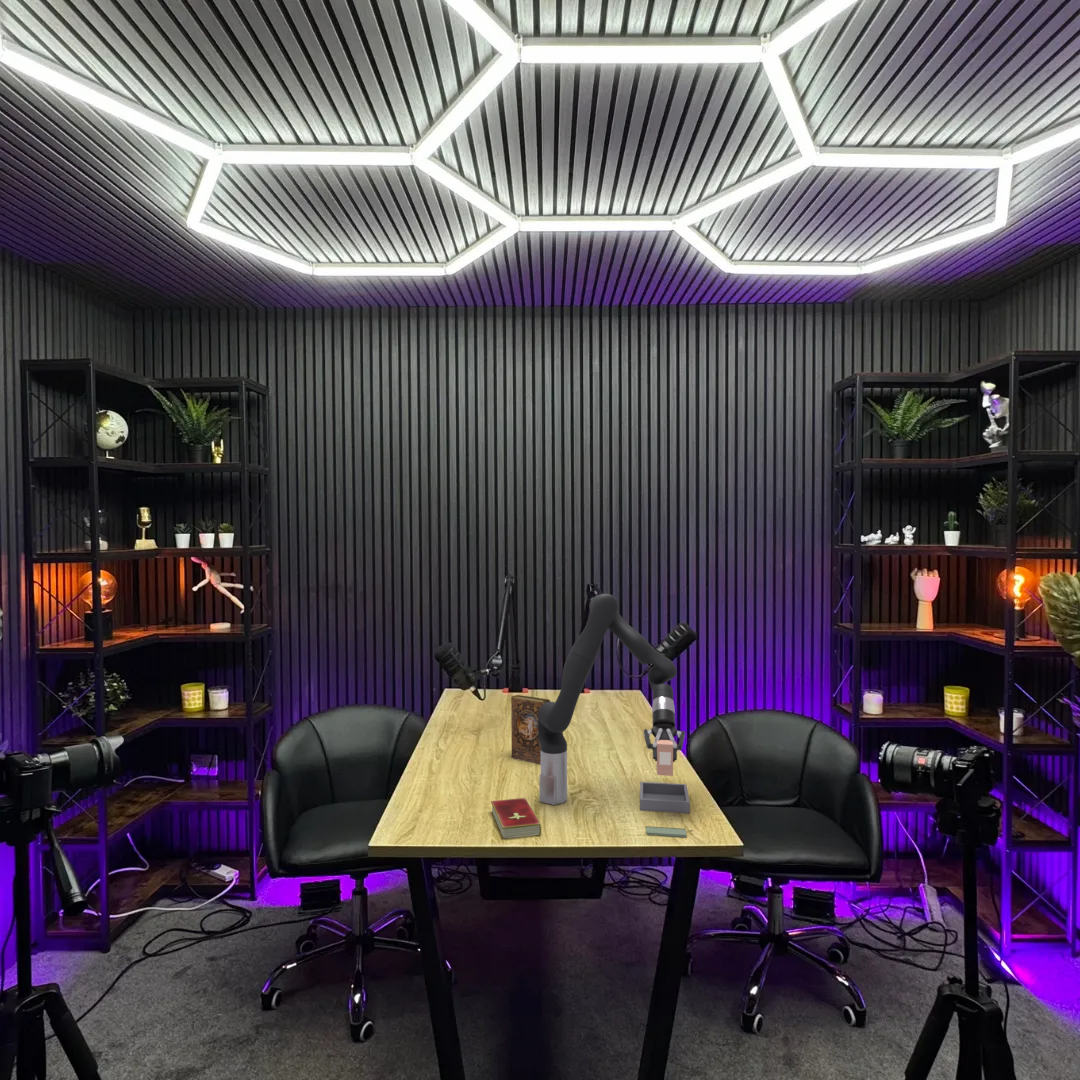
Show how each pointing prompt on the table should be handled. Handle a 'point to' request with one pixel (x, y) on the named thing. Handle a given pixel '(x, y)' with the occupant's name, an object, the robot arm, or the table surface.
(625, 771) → the table surface
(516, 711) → the book
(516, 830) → the hardcover book
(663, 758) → the labelled box
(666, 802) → the parts bin
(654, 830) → the grey-green flat plate
